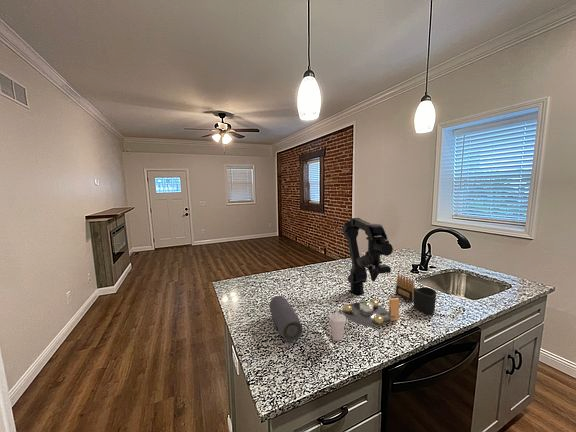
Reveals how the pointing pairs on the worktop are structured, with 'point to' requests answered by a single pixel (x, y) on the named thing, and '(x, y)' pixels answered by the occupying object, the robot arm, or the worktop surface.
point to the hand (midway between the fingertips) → (373, 281)
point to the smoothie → (337, 325)
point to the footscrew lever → (392, 312)
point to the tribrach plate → (365, 319)
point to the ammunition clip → (405, 288)
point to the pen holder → (424, 300)
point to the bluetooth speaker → (285, 319)
